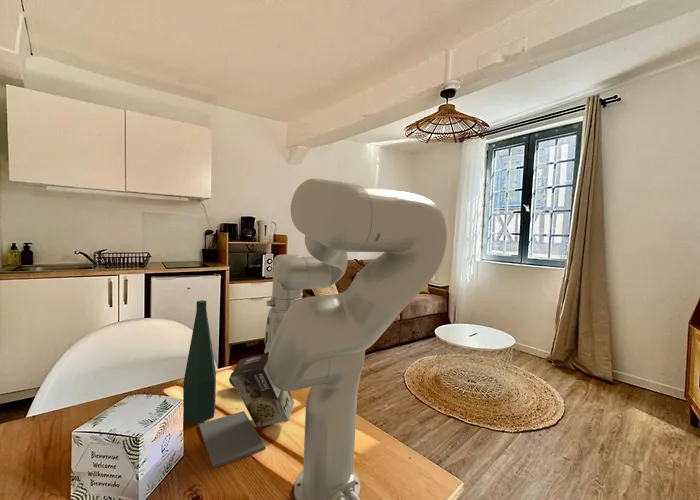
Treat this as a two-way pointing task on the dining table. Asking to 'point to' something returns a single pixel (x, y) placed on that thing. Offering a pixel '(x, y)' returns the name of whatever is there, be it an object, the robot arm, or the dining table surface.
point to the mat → (230, 438)
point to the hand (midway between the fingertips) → (284, 373)
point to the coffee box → (261, 392)
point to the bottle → (200, 372)
